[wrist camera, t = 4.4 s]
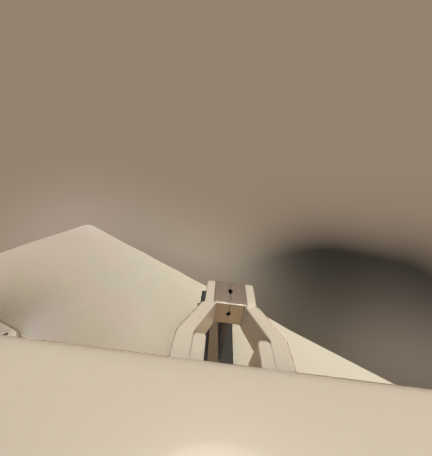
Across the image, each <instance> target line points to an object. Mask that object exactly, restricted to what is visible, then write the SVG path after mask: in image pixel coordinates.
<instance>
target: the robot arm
mask: <svg viewBox="0 0 432 456" xmlns="http://www.w3.org/2000/svg"><path fill="white" fill-rule="evenodd" d="M213 322H223V323H231V324H237V325H240V327H241V329H242V331H243V333H244V334H245V336H246V338H247V340H248V342H249V344H250V345H251V347H252V349H253V351H254V353H253V355H252V358H251V360H250V362H249V366H243V365H235V364H227V363H219V362H211V361H204V351H205V341H206V335H205V334H206V332H207V331H208V329H209V328H210V326H211V325H212V324H213ZM19 335H20V334H19V333H18V332H17V331H15V330H13V329H12V328H10V327H8V326H7V325H5V324H4V323H2V322H0V456H432V389H424V388H416V387H408V386H400V385H393V384H385V383H377V382H369V381H361V380H353V379H345V378H337V377H329V376H321V375H313V374H306V373H298V372H296V369H295V366H294V362H293V359H292V356H291V352H290V349H289V346H288V343H287V342H286V341H285V339H284V338H283V337H282V336H281V334H280V333H279V332H278V331H277V330H276V328H275V327H274V326H273V325H272V323H271V322H270V321H269V320H268V319H267V317H266V316H265V315H264V314H263V313H262V311H261V310H260V309H259V308H257V307H256V302H255V296H254V291H253V287H252V286H250V285H243V284H234V283H225V282H218V281H210V280H208V283H207V289H206V296H205V301H202V302H201V303H200V304H199V305H198V307H197V308H196V309H195V310H194V311H193V312H192V313H191V314H190V315H189V316H188V317H187V318H186V319H185V320H184V322H183V323H182V324H181V325H180V326H179V327H178V328H177V329H176V333H175V336H174V340H173V343H172V347H171V350H170V354H169V356H164V355H156V354H148V353H140V352H132V351H124V350H116V349H108V348H100V347H92V346H85V345H77V344H69V343H61V342H53V341H45V340H37V339H29V338H22V337H19Z"/></svg>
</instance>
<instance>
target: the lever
mask: <svg viewBox="0 0 432 456" xmlns="http://www.w3.org/2000/svg"><path fill="white" fill-rule="evenodd" d="M207 361H211V362H218V322H213V324H212V325H211V326H210V331H209V345H208V358H207Z"/></svg>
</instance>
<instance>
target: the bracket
mask: <svg viewBox="0 0 432 456" xmlns="http://www.w3.org/2000/svg"><path fill="white" fill-rule="evenodd" d="M205 296H206V291H202V296H201V302H202V301H205ZM201 302H200V303H201ZM200 303H198V305H199V304H200ZM198 305H197V307H198ZM209 331H210V328H209V329H208V331H207V332H206V334H205V335H206V341H205V351H204V361H207V358H208V345H209ZM218 362H219V363H227V364H233V345H232V324H231V323H223V322H218Z"/></svg>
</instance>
